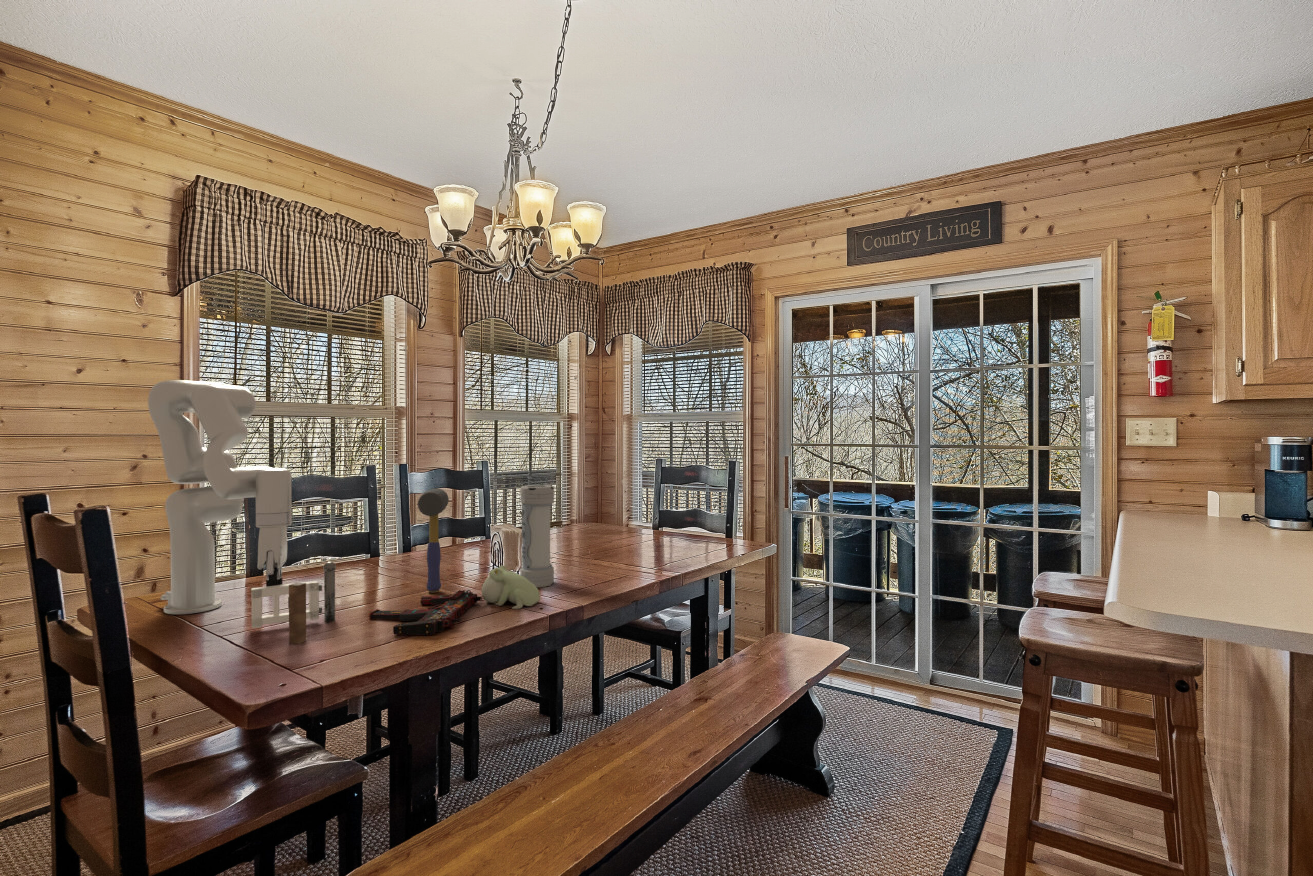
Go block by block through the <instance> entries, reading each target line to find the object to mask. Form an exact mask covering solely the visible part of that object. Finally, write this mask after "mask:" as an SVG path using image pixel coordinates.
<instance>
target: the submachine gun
mask: <svg viewBox="0 0 1313 876" xmlns="http://www.w3.org/2000/svg"><path fill="white" fill-rule="evenodd" d="M483 597H484V596H482V595H481V596H478V594H477V593H473V592H472V591H471V589H467V590H465V589H463V590H457V591H456V592H455V593H453V594H452V595H448V594H447V595H428V596H427V595H426V596H421V597H420V604H421V605H432V606H430V607H427V608H423V609H422V608H421V609H420V608H419V609H416V608H415V609H404V610H382V609H378V608H377V609H374V610H372V611H371V612H369V614H368V615H369V620H399V621H400V622H402V623H399V624H396V625H394V626H392V627H393V629H392V632H393V635H401V636H402V635H405V636H407V635H408V636H409V635H411V636H433V635H434V634H436V633H437V632H438V633H439V632H444V631H445V630H446V627H447V628H449V629H454V628H455V625H454V624H455V623H461V621H462V619H461V618H459V617H460V616H461V615H462V614H463V613H465V612H466V611H467V610H468V609H469V608H470V607H471V606H472V605H476V604H477V603H478V602H484V601H485V600H484V598H483Z"/></svg>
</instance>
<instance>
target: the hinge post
mask: <svg viewBox="0 0 1313 876" xmlns="http://www.w3.org/2000/svg"><path fill="white" fill-rule="evenodd" d="M322 568H323V569H322V570H323V579H324V580H323V581H324V583H323V587H324V588H323V589H324V591H323V592H324V594H323V601H324V602H323V603H324V604H323V605H324V607H323V610H324V612H323V614H324V616H323V618H324V622H325V623H331V622H335V621H336V569H337V566H336V563H335V562H333V561H326V563H324V564H323V567H322Z"/></svg>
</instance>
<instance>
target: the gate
mask: <svg viewBox="0 0 1313 876" xmlns="http://www.w3.org/2000/svg"><path fill="white" fill-rule="evenodd" d="M302 583H306V593H308V609H306V620H308V619H309V621H314V620H320V614H323V607H322V606H320V592H322V591H323V584H322V583H320V582H319V581H318V580H314V581H304V582H303V581H302ZM290 584H291V583H288V584H287V583H286V584H285V583H284V584H282V585H276V586H267V587H266V586H260V587H259V586H258V587H251V590H250V591H251V592H250V593H251V629H257V628H258V629H259V628H263V625H264V626H265V625H273V624H279V623H288V622H289V612H281V613H280V596H284V595H289V585H290ZM279 595H280V596H279ZM267 597H273V599H272V602H273V603H272V608H273V609H272V610H273V611H272V614H268V615H263V598H267Z"/></svg>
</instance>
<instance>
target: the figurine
mask: <svg viewBox="0 0 1313 876" xmlns="http://www.w3.org/2000/svg"><path fill="white" fill-rule="evenodd" d="M540 595H541V594H540V590H539V588H537V587H536V586H535V585H534V584H532V583H531V582H530V581H529V580H527V579H526V578H525V577H523V576H521V574H519V573H517V572H514V571H510V570H508V569H507V566H505V565H500V566H499V567H495V568H494V569H491V570H490V571H489V573H488V576H487V577H486V579H485V580H484V582H483V584H482V586H481V597H482V596H484V597H483V598H484V599H483V600H484V601H485V602H486V603H489V604H490V603H491V604H494V605H498V606H503V605H504V604H505V603H506V602H510V603H512V604H514V606H512V607H511V609H513V610H515V609H517V610H518V609H522V608H524V607H523V606H525V607H526V606H527V607H531V606H534V605H535V604H537V603H538V602H540V601H541V596H540Z"/></svg>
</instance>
